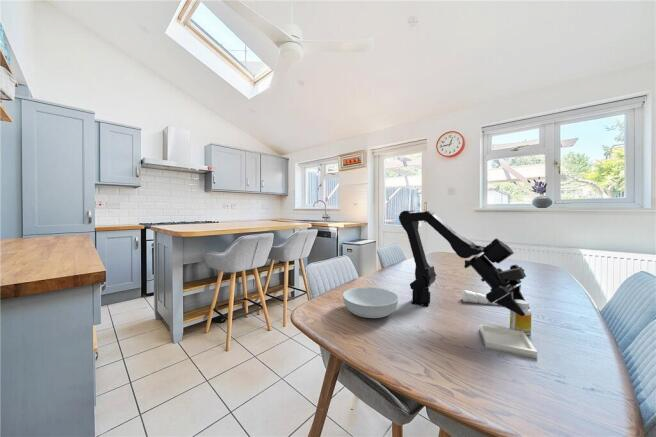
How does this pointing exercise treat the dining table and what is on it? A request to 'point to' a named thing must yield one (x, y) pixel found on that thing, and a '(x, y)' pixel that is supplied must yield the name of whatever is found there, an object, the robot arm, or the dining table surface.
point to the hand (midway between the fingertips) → (526, 312)
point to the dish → (507, 341)
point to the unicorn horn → (475, 298)
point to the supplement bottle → (521, 318)
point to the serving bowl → (370, 301)
